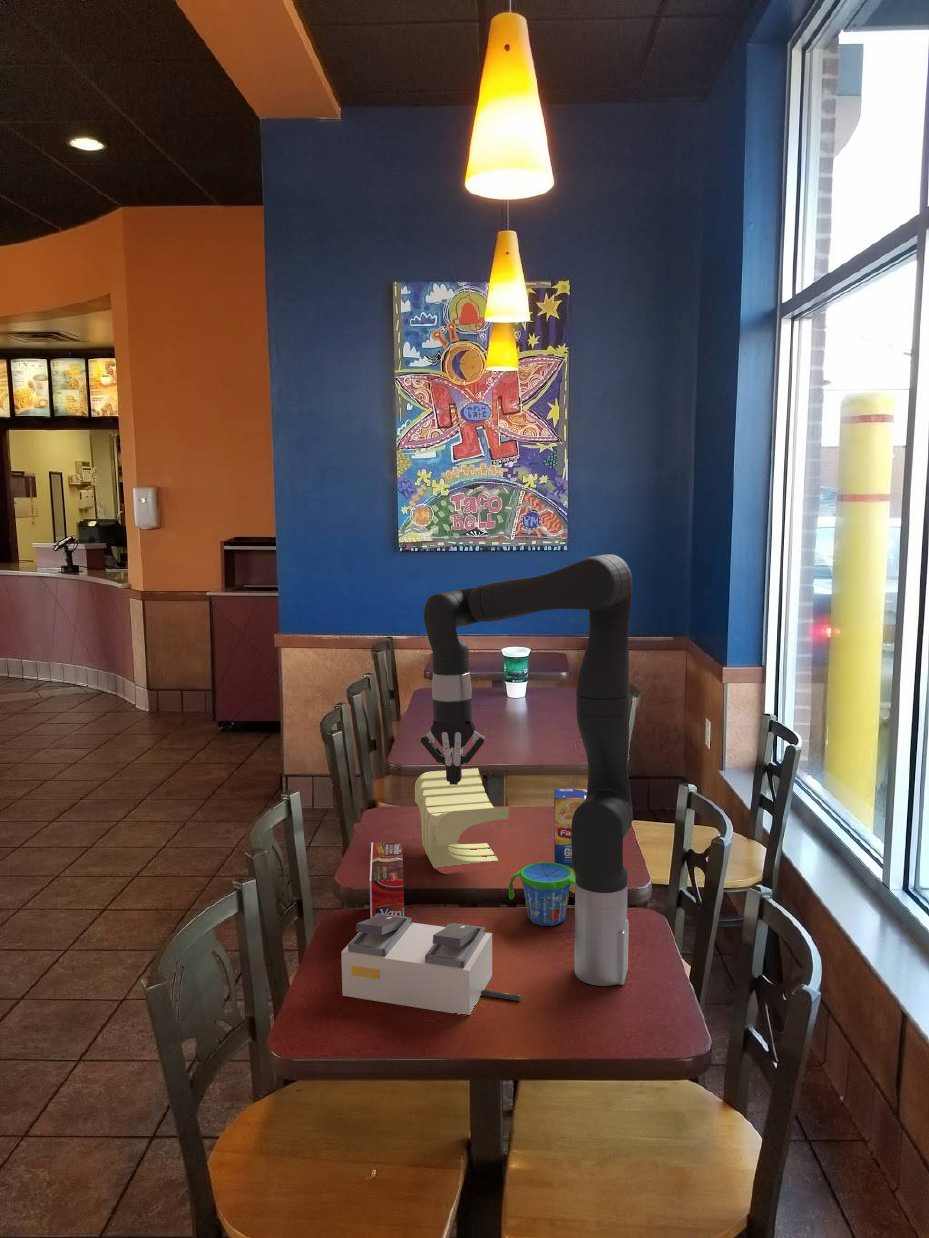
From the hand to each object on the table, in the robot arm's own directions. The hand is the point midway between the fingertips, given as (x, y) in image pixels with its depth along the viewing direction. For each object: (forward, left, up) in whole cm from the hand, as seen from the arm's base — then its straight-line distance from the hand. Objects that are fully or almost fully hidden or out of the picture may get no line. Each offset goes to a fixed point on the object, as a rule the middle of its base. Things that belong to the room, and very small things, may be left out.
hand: (454, 783), depth 185 cm
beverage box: (-20, -26, -31) cm, 45 cm away
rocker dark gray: (+7, +21, -20) cm, 30 cm away
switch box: (-3, +21, -30) cm, 37 cm away
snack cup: (-16, -11, -31) cm, 36 cm away
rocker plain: (-7, +21, -20) cm, 30 cm away
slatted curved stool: (+10, -35, -31) cm, 47 cm away
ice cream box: (+14, 0, -31) cm, 34 cm away
